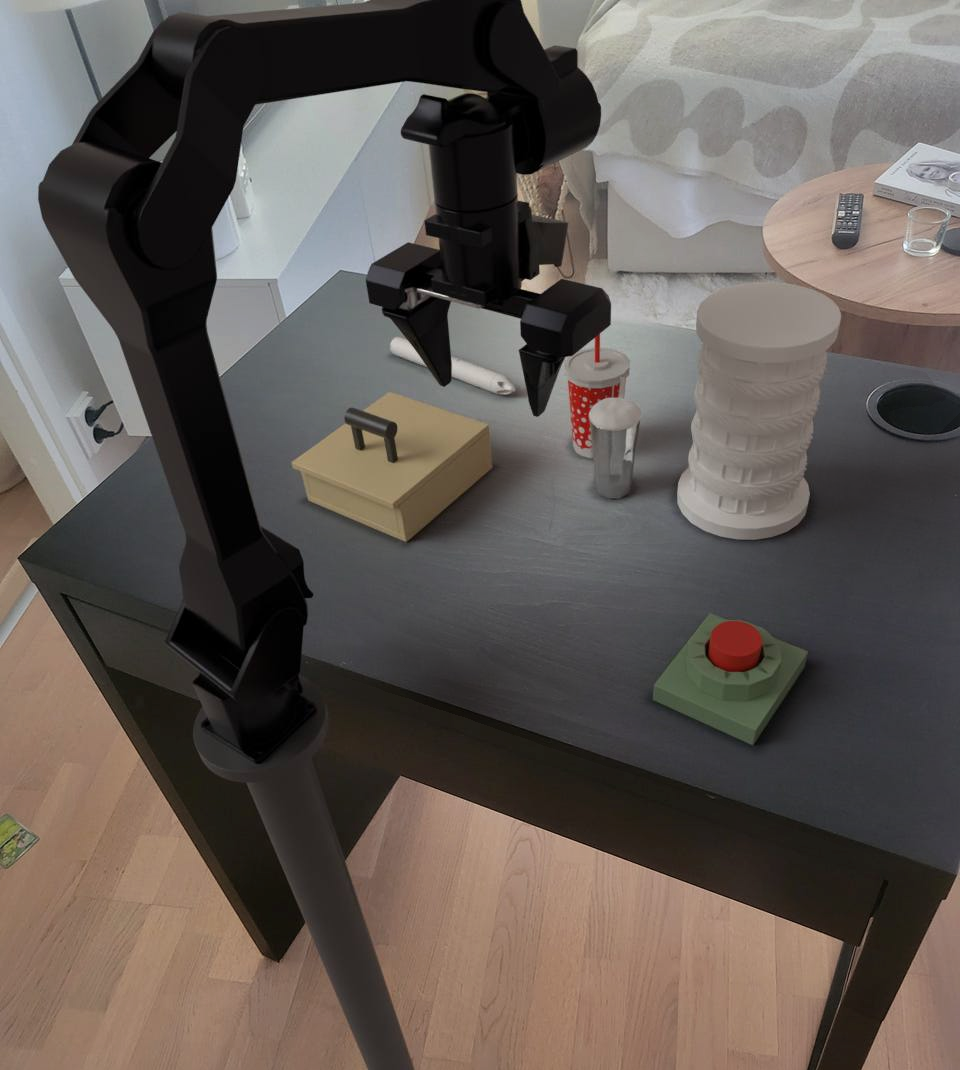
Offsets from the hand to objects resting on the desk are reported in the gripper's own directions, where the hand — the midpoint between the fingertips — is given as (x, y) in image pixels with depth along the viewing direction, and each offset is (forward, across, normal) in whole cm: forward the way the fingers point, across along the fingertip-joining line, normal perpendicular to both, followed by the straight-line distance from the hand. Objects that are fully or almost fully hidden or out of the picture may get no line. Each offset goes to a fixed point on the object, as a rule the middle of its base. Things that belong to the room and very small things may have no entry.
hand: (491, 398), depth 76 cm
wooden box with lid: (+10, +13, -1) cm, 16 cm away
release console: (+14, -25, +6) cm, 29 cm away
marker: (+14, +21, -20) cm, 33 cm away
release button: (+11, -25, +6) cm, 28 cm away
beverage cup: (+14, 0, -16) cm, 22 cm away
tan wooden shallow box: (+14, +13, -1) cm, 19 cm away
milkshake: (+14, -5, -12) cm, 19 cm away
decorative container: (+14, -16, -16) cm, 26 cm away
